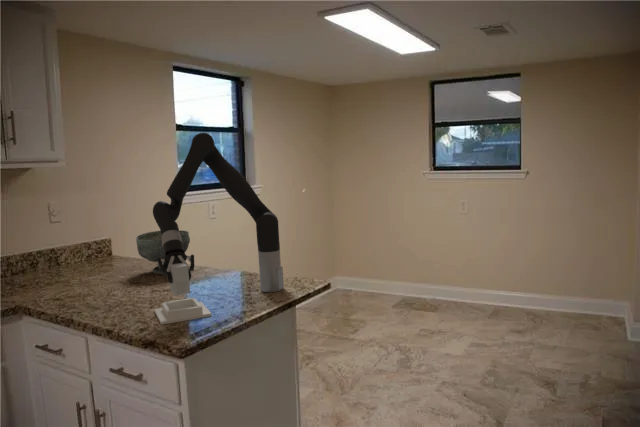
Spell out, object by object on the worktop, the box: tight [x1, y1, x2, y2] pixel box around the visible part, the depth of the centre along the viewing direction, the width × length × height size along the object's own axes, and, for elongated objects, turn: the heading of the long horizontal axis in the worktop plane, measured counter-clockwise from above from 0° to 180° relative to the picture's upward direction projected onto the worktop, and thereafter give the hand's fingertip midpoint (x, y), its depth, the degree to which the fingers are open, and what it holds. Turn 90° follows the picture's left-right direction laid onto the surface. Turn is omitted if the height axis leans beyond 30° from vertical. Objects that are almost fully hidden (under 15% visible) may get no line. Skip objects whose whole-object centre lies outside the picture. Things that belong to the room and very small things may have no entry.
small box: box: [169, 263, 191, 297], centre depth 198 cm, size 8×6×10 cm
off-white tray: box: [153, 297, 212, 326], centre depth 199 cm, size 18×18×4 cm
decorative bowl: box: [135, 230, 191, 275], centre depth 274 cm, size 27×26×20 cm
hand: (180, 280), depth 196 cm, fingers closed on small box, 6 cm apart
